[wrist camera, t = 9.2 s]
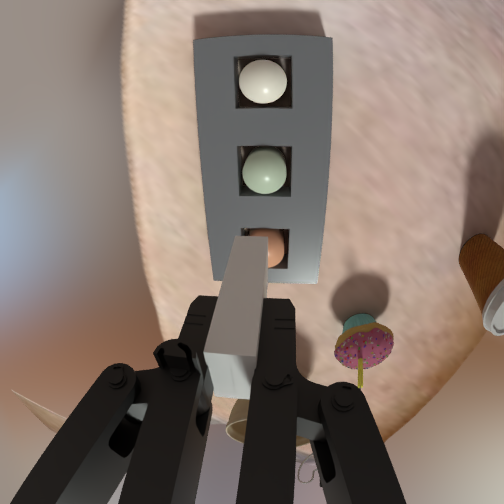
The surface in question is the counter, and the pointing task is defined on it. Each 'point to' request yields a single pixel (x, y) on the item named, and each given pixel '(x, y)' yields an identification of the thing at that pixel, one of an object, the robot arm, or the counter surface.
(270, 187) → the sage button
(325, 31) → the counter surface
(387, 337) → the cupcake
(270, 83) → the white rounded piece
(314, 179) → the button panel
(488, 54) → the counter surface
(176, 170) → the counter surface
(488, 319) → the disposable coffee cup
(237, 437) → the planter bowl
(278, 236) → the terracotta button
